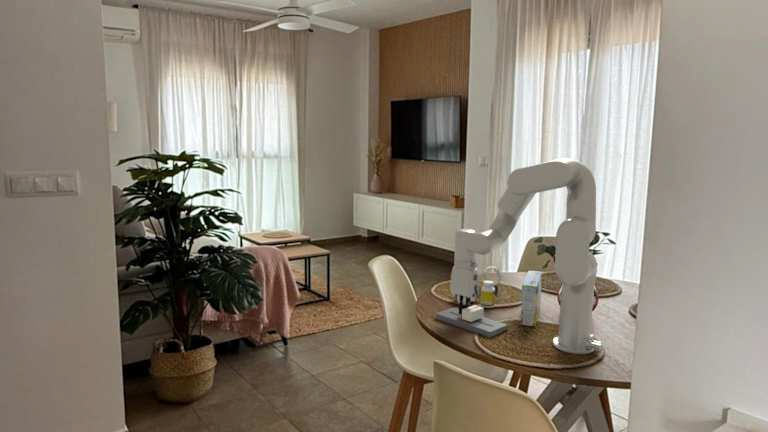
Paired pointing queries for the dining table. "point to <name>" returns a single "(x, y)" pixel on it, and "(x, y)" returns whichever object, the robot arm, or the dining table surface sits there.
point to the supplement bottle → (487, 294)
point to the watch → (497, 275)
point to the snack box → (531, 298)
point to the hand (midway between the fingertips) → (463, 313)
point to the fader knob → (472, 313)
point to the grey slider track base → (472, 323)
